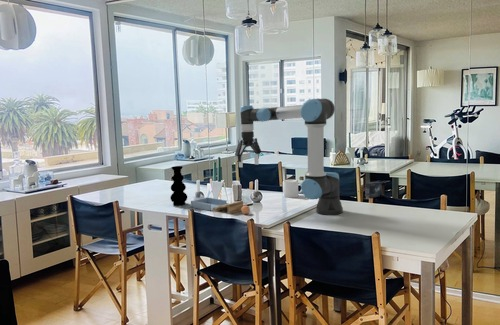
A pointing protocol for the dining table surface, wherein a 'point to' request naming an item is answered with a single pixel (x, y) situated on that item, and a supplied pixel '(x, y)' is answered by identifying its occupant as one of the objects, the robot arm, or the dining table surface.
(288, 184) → the mug
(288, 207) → the dining table surface
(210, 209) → the grey tray
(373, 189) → the box
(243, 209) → the ball
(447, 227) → the dining table surface
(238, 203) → the ramp
